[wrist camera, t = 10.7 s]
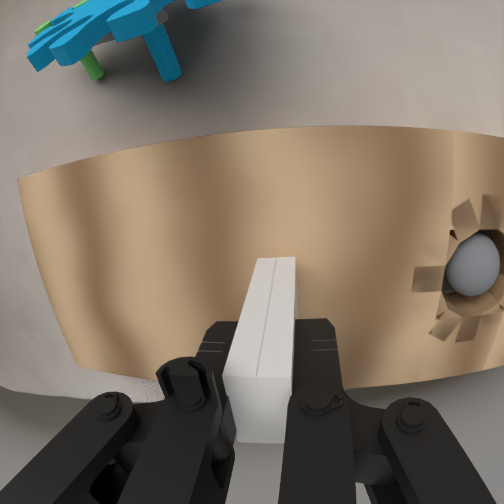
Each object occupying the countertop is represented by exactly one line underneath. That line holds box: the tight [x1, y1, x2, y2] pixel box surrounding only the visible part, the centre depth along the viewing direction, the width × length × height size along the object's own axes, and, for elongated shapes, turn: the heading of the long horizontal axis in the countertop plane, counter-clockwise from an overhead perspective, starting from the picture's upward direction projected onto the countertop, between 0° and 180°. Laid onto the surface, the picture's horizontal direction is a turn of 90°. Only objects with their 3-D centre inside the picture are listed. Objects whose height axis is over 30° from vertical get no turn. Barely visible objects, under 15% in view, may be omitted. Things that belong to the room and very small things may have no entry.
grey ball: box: [444, 232, 500, 296], centre depth 13 cm, size 3×3×3 cm
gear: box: [27, 0, 221, 82], centre depth 10 cm, size 11×6×10 cm
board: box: [17, 126, 504, 389], centre depth 14 cm, size 32×13×2 cm, turn 95°
